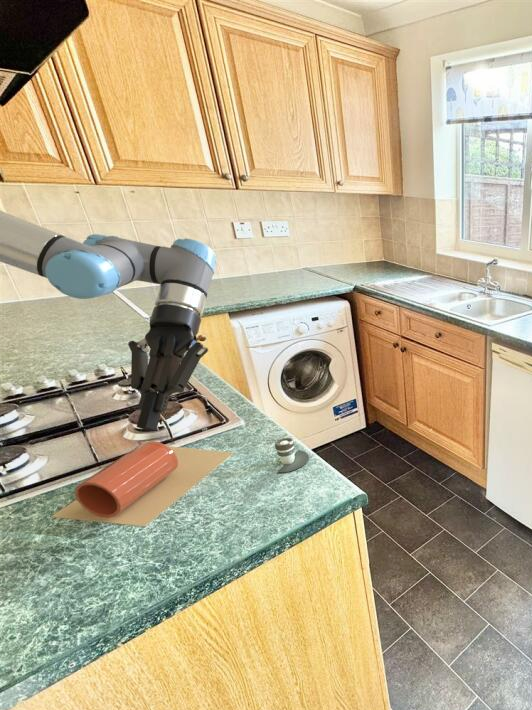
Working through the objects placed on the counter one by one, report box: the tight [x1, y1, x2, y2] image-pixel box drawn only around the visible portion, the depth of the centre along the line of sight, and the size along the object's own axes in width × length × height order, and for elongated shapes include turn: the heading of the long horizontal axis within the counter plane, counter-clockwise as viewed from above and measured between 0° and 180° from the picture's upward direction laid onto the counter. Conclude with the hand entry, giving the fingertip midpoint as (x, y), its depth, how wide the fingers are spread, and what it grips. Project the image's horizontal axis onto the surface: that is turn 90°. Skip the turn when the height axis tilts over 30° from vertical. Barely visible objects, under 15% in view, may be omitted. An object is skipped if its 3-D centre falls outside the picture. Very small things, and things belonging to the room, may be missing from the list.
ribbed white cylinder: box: [274, 437, 310, 474], centre depth 83 cm, size 12×12×5 cm
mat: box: [50, 445, 235, 527], centre depth 77 cm, size 16×21×1 cm
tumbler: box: [74, 440, 178, 517], centre depth 72 cm, size 7×7×12 cm
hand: (146, 428), depth 74 cm, fingers closed
